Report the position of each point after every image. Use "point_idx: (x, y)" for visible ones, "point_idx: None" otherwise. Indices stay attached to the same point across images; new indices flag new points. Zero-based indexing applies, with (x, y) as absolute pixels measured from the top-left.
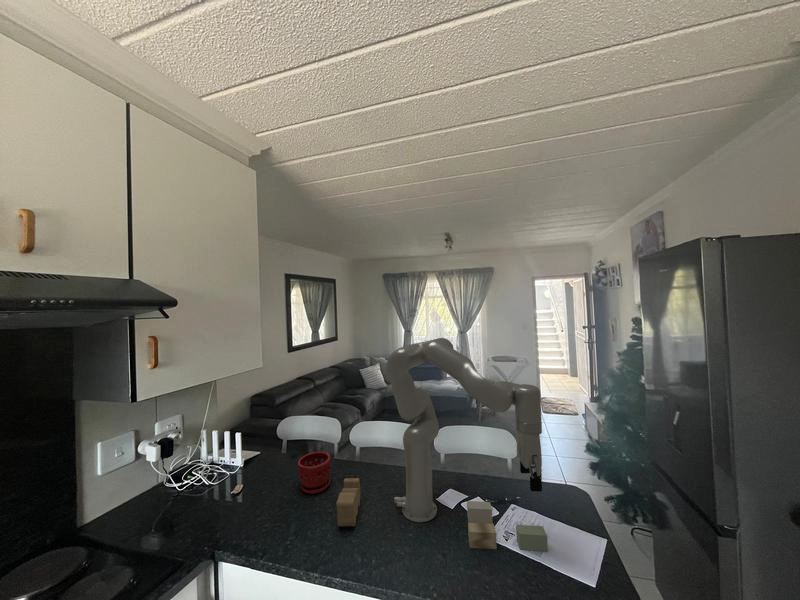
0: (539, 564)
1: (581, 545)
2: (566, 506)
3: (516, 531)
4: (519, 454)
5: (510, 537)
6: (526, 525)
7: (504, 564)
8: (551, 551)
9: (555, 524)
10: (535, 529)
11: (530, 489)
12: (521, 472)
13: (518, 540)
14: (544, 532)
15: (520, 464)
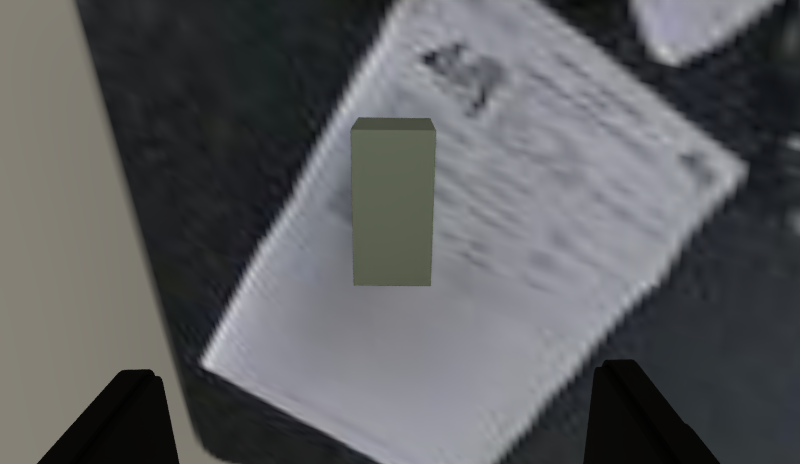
0: (277, 189)
1: (417, 403)
2: None
3: (430, 124)
4: None
5: (448, 87)
6: (430, 194)
7: (244, 3)
8: None
9: (551, 347)
10: (398, 237)
11: (127, 373)
12: (597, 369)
13: (386, 121)
14: (378, 279)
15: (674, 453)
